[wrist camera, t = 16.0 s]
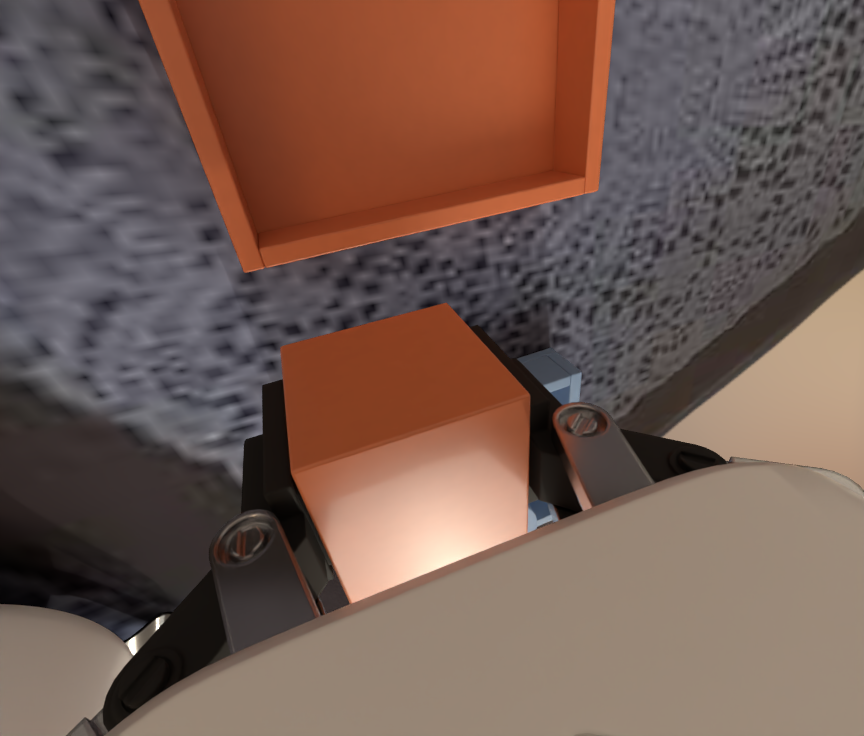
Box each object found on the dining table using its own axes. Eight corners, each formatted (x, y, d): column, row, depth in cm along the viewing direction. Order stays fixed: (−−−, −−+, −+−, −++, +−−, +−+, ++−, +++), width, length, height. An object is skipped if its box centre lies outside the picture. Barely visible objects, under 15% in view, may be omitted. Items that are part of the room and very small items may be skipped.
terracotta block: (447, 301, 12) (532, 394, 8) (459, 423, 14) (528, 535, 11) (279, 345, 11) (289, 472, 7) (325, 467, 13) (350, 607, 10)
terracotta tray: (574, -226, 11) (644, -296, 9) (557, 181, 17) (599, 191, 15) (60, -241, 9) (2, -348, 7) (244, 251, 14) (244, 273, 12)
